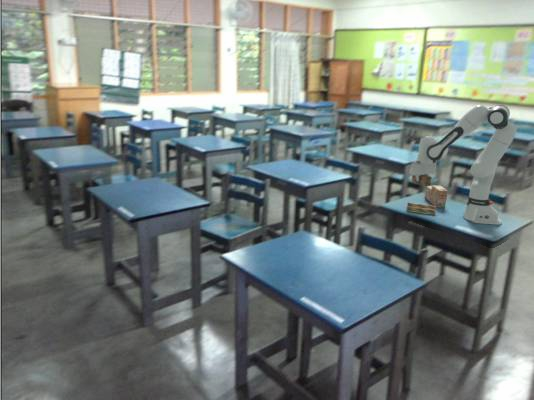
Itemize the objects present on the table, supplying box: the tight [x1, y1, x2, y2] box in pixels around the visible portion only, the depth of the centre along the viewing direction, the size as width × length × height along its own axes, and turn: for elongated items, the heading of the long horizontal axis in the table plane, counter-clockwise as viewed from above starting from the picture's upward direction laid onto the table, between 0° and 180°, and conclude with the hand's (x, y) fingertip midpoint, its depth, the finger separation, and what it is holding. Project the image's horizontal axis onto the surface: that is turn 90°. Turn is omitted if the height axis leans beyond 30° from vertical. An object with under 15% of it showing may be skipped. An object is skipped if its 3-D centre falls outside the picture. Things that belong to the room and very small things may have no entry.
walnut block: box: [411, 174, 432, 187], centre depth 296 cm, size 12×4×6 cm, turn 33°
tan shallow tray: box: [406, 202, 437, 216], centre depth 294 cm, size 18×10×3 cm, turn 70°
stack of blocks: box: [424, 185, 449, 208], centre depth 312 cm, size 21×6×12 cm, turn 3°
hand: (421, 180), depth 296 cm, fingers closed on walnut block, 4 cm apart
